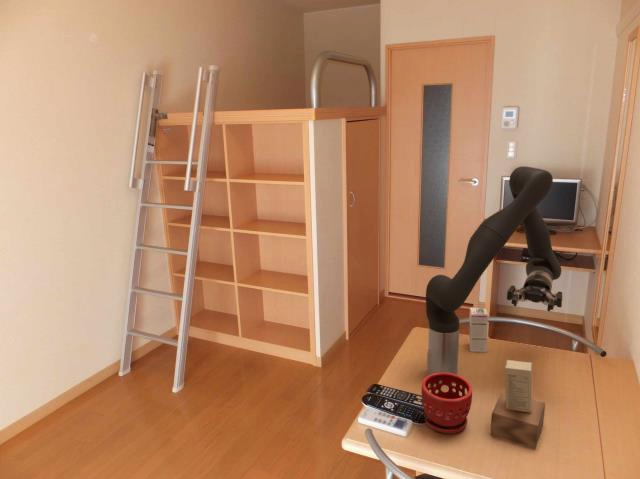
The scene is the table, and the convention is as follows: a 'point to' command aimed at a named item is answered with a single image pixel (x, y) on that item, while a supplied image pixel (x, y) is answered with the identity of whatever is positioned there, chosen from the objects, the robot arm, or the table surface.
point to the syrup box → (478, 329)
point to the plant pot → (446, 402)
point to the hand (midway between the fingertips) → (531, 305)
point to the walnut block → (518, 423)
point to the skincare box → (518, 385)
